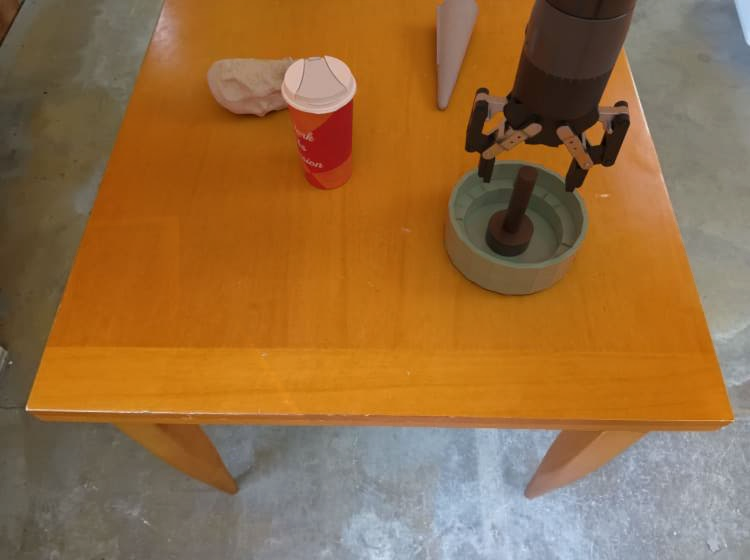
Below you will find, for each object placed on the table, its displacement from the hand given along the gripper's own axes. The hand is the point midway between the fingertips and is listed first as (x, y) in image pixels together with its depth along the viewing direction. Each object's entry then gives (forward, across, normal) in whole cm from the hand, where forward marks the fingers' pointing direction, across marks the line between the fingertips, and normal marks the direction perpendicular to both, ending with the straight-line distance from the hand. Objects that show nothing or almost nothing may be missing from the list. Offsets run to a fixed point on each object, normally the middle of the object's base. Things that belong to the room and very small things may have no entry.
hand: (527, 181), depth 60 cm
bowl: (+10, 0, -1) cm, 10 cm away
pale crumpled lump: (+10, -33, +20) cm, 40 cm away
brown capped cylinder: (+9, 0, -1) cm, 9 cm away
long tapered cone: (+10, -9, +30) cm, 33 cm away
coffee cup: (+10, -24, +7) cm, 27 cm away
